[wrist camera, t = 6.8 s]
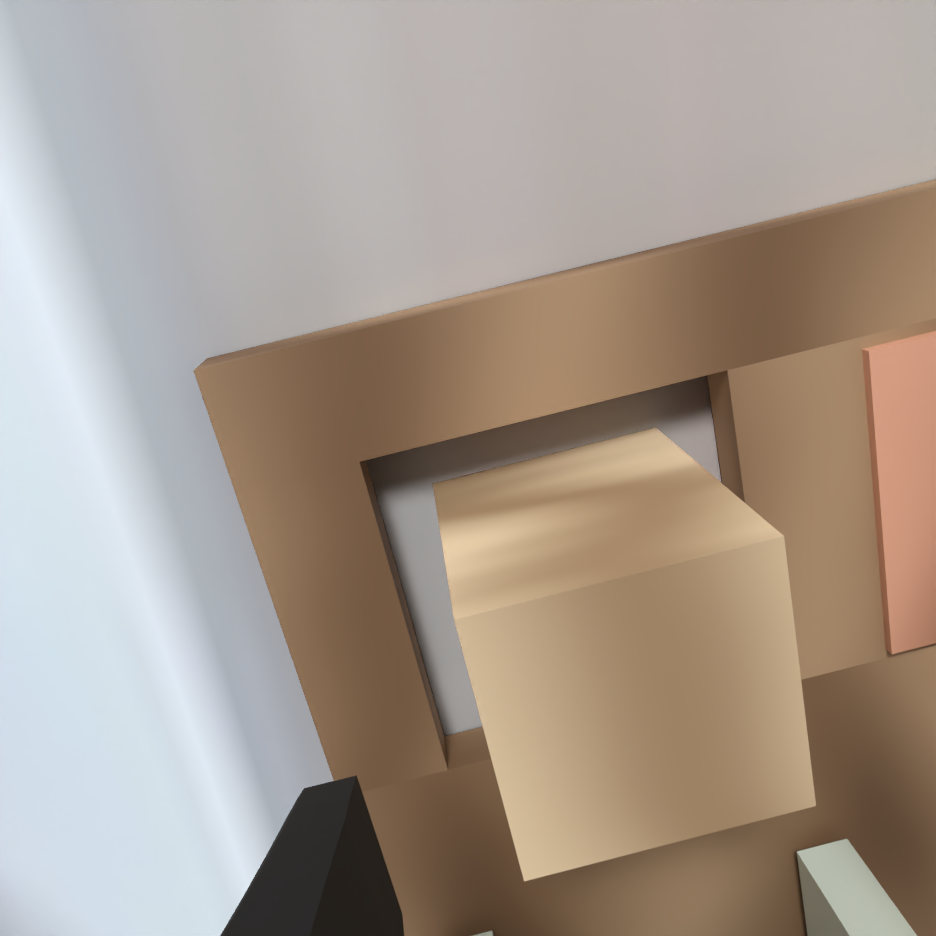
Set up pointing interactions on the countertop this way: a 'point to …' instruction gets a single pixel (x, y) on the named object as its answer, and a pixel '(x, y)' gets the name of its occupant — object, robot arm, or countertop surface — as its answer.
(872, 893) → the sliding cover
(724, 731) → the maple block
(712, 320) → the puzzle board
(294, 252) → the countertop surface
